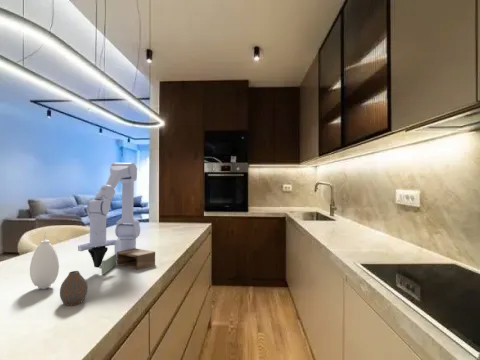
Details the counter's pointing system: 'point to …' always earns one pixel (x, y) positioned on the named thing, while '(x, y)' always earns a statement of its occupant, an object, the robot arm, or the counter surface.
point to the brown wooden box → (136, 258)
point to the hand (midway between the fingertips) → (97, 266)
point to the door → (108, 263)
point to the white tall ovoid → (44, 265)
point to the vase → (73, 289)
